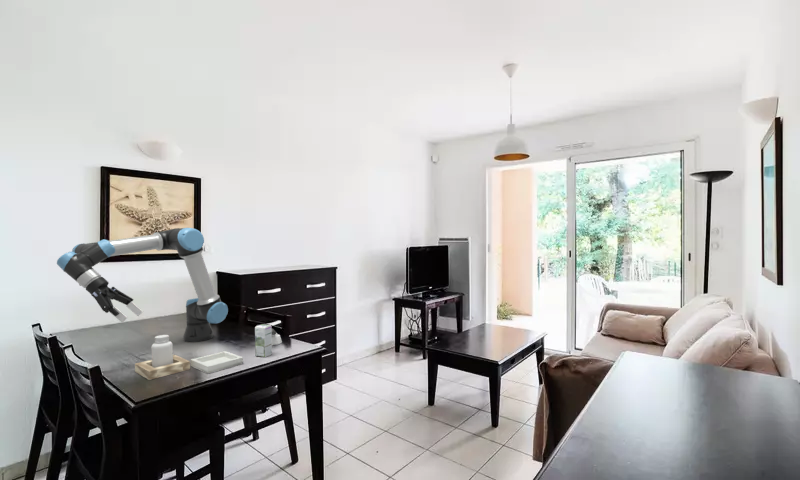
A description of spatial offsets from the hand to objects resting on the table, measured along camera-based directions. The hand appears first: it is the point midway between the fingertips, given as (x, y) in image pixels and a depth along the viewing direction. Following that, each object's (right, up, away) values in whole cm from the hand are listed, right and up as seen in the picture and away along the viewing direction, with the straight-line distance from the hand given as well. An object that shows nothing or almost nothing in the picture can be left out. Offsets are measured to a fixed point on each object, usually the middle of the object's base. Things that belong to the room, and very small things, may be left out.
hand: (133, 316), depth 169 cm
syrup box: (+48, -23, +23) cm, 58 cm away
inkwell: (+47, -23, +40) cm, 66 cm away
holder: (+11, -24, +3) cm, 26 cm away
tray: (+32, -24, +9) cm, 41 cm away
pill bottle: (+11, -24, +3) cm, 27 cm away
